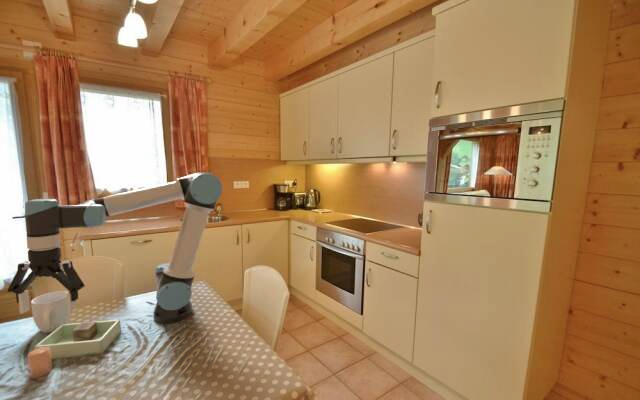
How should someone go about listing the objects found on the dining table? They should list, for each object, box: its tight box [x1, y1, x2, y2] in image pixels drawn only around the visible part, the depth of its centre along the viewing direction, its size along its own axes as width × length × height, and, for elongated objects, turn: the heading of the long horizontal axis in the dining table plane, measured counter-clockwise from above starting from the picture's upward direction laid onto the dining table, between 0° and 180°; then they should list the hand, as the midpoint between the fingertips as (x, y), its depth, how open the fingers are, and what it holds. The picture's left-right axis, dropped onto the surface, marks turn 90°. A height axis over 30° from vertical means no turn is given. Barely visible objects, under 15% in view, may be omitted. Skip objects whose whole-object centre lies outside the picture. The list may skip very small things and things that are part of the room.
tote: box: [33, 319, 122, 360], centre depth 102 cm, size 20×14×5 cm
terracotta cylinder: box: [27, 347, 53, 379], centre depth 89 cm, size 5×5×7 cm
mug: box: [30, 290, 71, 333], centre depth 110 cm, size 15×11×13 cm
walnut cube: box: [73, 321, 97, 342], centre depth 105 cm, size 5×5×5 cm
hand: (48, 310), depth 92 cm, fingers open, 13 cm apart
